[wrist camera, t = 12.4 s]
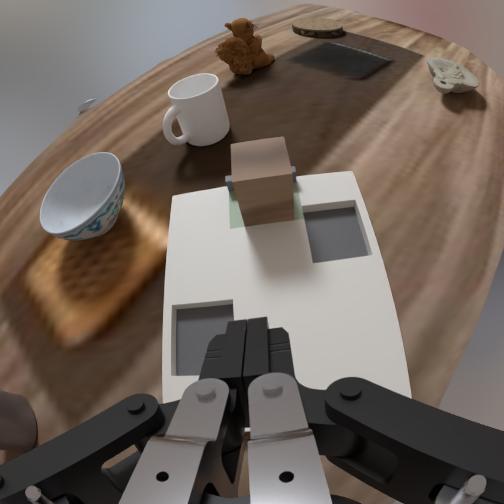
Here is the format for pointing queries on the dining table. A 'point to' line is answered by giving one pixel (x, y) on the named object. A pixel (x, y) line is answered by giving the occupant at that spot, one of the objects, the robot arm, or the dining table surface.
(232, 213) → the pad
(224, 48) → the stuffed squirrel
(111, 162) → the chinaware
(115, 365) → the dining table surface
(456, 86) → the oil lamp
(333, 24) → the wood slice
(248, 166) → the block
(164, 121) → the mug
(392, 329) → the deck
